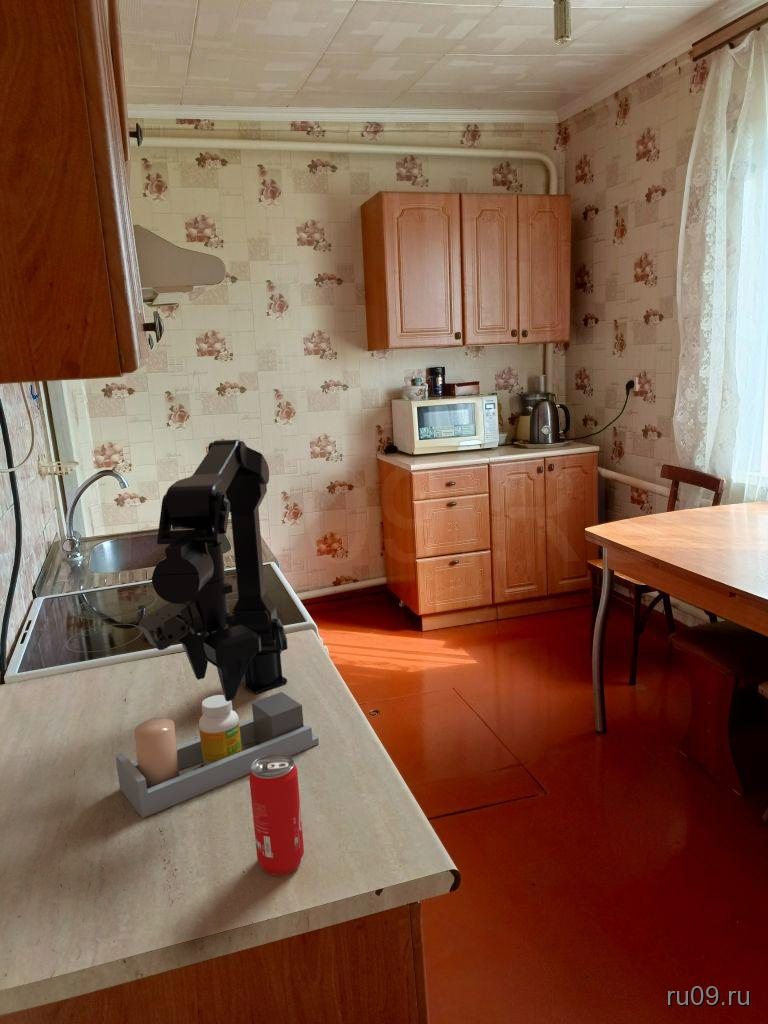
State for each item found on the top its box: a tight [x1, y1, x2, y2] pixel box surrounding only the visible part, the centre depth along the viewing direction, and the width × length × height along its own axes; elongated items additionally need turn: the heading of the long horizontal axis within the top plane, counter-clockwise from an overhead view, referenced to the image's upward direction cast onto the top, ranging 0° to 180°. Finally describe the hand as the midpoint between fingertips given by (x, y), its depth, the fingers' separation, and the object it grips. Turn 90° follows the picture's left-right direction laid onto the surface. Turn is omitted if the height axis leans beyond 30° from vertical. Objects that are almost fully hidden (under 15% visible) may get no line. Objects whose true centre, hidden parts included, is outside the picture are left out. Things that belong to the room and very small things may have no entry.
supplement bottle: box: [198, 694, 243, 767], centre depth 102 cm, size 5×5×10 cm
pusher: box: [251, 691, 304, 744], centre depth 107 cm, size 5×6×6 cm
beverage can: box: [248, 754, 305, 877], centre depth 81 cm, size 5×5×12 cm
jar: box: [133, 717, 180, 789], centre depth 97 cm, size 5×5×9 cm
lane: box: [114, 717, 320, 819], centre depth 102 cm, size 26×8×5 cm, turn 128°
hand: (214, 689), depth 100 cm, fingers open, 9 cm apart
